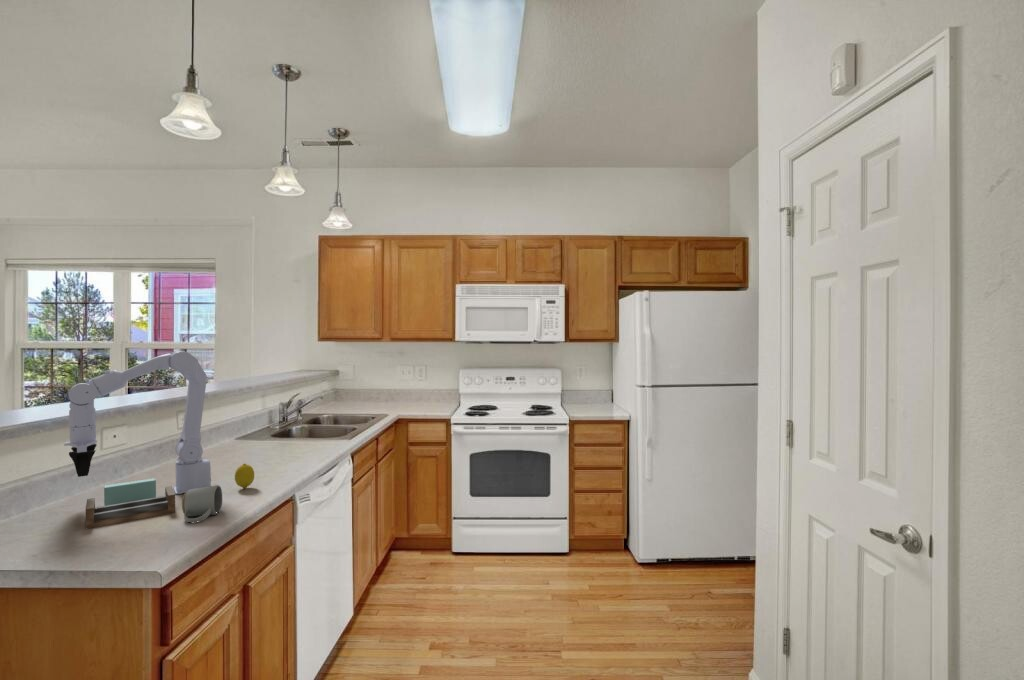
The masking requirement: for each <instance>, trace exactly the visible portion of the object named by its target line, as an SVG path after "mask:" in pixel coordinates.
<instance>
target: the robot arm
mask: <svg viewBox="0 0 1024 680" xmlns="http://www.w3.org/2000/svg"><path fill="white" fill-rule="evenodd" d="M170 369H172V370H174V371H175V372H177V373H180V374H181V375H182V376H183V377H184V378H185V379H186V380H187V382H188V385H187V391H186V393H187V395H186V401H185V409H184V416H183V424H182V431H181V434H180V438H179V441H178V442H177V444H176V445H175V453H176V455H177V456H178V458H177V459H176V460H175V486H172V487H173V490H174V493H175V495H181V494H185V493H186V492H187V491H188V490H191V489H195V488H203V487H209V486H212V484H211V483H212V478H211V475H212V474H211V473H212V471H211V461H210V459H209V458H207V459H206V458H205V459H203V457H202V456H203V454H204V453H203V452H204V450H203V448H202V443H201V439H202V438H201V427H202V426H201V425H202V419H203V412H204V411H203V410H204V404H205V403H204V402H205V397H206V386H207V381H208V380H207V378H208V377H207V374H206V372H205V370H204V369H203V367H202V366H201V364H200V362H199V359H197V358H196V357H195V356H194V355H192V354H191V353H190V352H188V351H184V350H175V351H172V352H170V353H165V354H162V355H158V356H155V357H153V358H151V359H148V360H146V361H143V362H140V363H139V364H137V365H134V366H131V367H130V368H127V369H125V370H123V371H121V370H117V369H112V370H109V369H107V370H104V371H103V374H101V375H97V376H95V377H93V378H86V379H84V382H80V383H76V384H75V385H73V386H71V388H70V389H69V392H68V398H69V400H70V403H69V405H68V406H69V411H68V415H69V416H68V417H69V418H68V421H69V424H68V425H69V427H68V428H69V441H67V442H64V443H63V444H64V445H63V446H66V447H67V446H70V448H71V450H72V451H69V452H68V456H69V457H70V458H71V460H72V462H73V464H74V468H75V472H76V474H77V477H78V478H79V477H87V476H89V473H90V467H91V463H92V460H93V457H94V455H95V452H96V447H97V445H98V444H97V443H98V439H97V424H96V423H97V422H96V421H97V420H96V415H97V414H96V408H95V398H96V397H98V398H101V397H104V396H106V395H109V394H112V393H113V392H116V391H118V390H121V389H123V388H126V386H127V383H128V382H129V381H131V380H133V379H136V378H138V377H142V376H144V375H146V374H149V373H152V372H154V371H157V370H162V371H163V370H165V371H169V370H170Z"/></svg>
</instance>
